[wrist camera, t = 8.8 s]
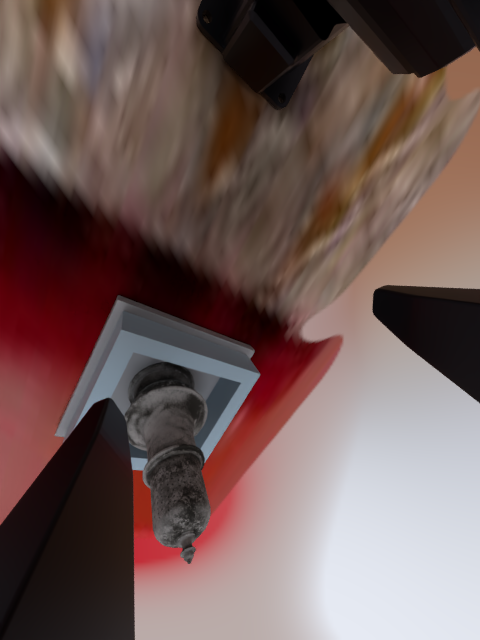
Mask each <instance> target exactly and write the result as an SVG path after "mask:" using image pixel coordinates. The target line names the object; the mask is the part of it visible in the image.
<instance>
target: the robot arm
mask: <svg viewBox="0 0 480 640" xmlns="http://www.w3.org/2000/svg"><path fill="white" fill-rule="evenodd" d="M204 14H205V15H207V16H208V17H209V20H210V23H208V24H207V23H206V22H205V21H204V20H203V16H202V15H204ZM196 22H197V25H198V27H199V29H200V30H201V32H202V33H203V34H204V35H205V36H206V37H207V38H208V39H209V40H210V41H211V42H212V43H213V44H214V45H215V46H216V47H217V48H218V49H219V50H220V51H221V52H222V53H223V56H224V60H225V61H226V62H227V63H228V64H229V65H230V66H231V67H232V68H233V69H234V70H235V71H236V73H237V74H238V75H239V76H240V77H241V78H242V79H243V80H244V81H245V82H246V83H247V84H248V85H249V86H250V87H251V88H252V89H253V90H254V91H255V92H256V93H261V94H262V95H263V96H264V97H265V98H266V99H267V100H268V101H269V102H270V103H271V104H272V105H273V106H274V107H275V108H276V109H277V110H281V109H283V108H284V107H286V106H287V104H288V103H289V101H290V99H291V97H292V95H293V93H294V91H295V89H296V87H297V85H298V83H299V81H300V80H301V78H302V76H303V74H304V72H305V70H306V68H307V66H308V64H309V62H310V60H311V58H312V57H313V55H314V53H316V52H317V51H318V50H319V49H321V48H322V47H323V46H324V45H326V44H327V43H328V42H329V41H331V40H332V39H333V38H335V37H336V36H337V35H338V34H340V33H341V32H342V31H343V30H345V29H346V28H347V27H348V26H350V27H351V28H352V29H353V30H354V31H355V32H356V34H357V35H358V36H359V37H360V38H361V39H362V40H363V41H364V43H365V44H366V45H367V46H368V47H369V48H370V49H371V50H372V51H373V53H374V54H375V55H376V57H377V58H378V59H379V60H380V61H381V62H382V63H383V64H384V65H385V66H386V67H387V68H388V69H389V70H390V71H391V72H392V73H393V74H411V73H415V75H416V76H417V77H418V78H420V77H423V76H426V75H428V74H430V73H432V72H435V71H437V70H439V69H441V68H443V67H445V66H447V65H449V64H450V63H452V62H454V61H455V60H457V59H458V58H460V57H462V56H463V55H465V54H466V53H468V52H469V51H471V50H472V49H473V48H475V47H476V46H477V48H478V50H479V51H480V0H202V1H201V4H200V6H199V9H198V12H197V15H196ZM279 95H280V96H281V97H282V100H283V101H282V103H280V101H279V98H278V97H279ZM373 313H374V315H375V316H376V318H377V319H378V320H380V322H382V323H383V324H384V325H385V326H386V327H387V328H388V329H389V330H390V331H391V332H392V333H393V334H394V335H395V336H396V337H398V338H399V339H400V340H401V341H402V342H403V343H404V344H405V345H406V346H407V347H409V348H410V349H411V350H412V351H414V352H415V353H416V354H417V355H419V356H420V357H422V358H423V359H424V360H425V361H426V362H428V363H429V364H430V365H432V366H433V367H434V368H435V369H437V370H438V371H439V372H441V373H442V374H443V375H444V376H446V377H447V378H448V379H450V380H451V381H452V382H454V383H455V384H456V385H457V386H459V387H460V388H461V389H462V390H464V391H465V392H466V393H468V394H469V395H470V396H471V397H473V398H474V399H475V400H477V401H478V402H479V403H480V289H463V288H439V287H416V286H394V285H393V286H392V285H386V286H383V287H380V288H378V289H376V290H375V291H374V294H373ZM134 622H135V621H134V516H133V471H132V462H131V455H130V447H129V439H128V432H127V424H126V420H125V417H124V415H123V414H122V412H121V411H120V409H119V408H118V407H117V405H116V404H115V402H114V401H113V399H111V398H109V397H108V398H105V399H102V400H100V401H97V402H95V403H94V404H93V405H92V406H91V408H90V409H89V410H88V411H87V413H86V414H85V415H84V417H83V418H82V419H81V421H80V422H79V423H78V425H77V426H76V427H75V428H74V430H73V431H72V432H71V434H70V435H69V436H68V438H67V439H66V440H65V441H64V443H63V444H62V445H61V447H60V448H59V449H58V451H57V452H56V453H55V455H54V456H53V457H52V458H51V460H50V461H49V462H48V464H47V465H46V466H45V468H44V469H43V470H42V472H41V473H40V474H39V475H38V477H37V478H36V479H35V481H34V482H33V483H32V485H31V486H30V487H29V489H28V490H27V491H26V492H25V494H24V495H23V496H22V498H21V499H20V500H19V502H18V503H17V504H16V506H15V507H14V508H13V509H12V511H11V512H10V513H9V515H8V516H7V517H6V519H5V520H4V521H3V522H2V524H1V525H0V640H135V631H134V630H135V628H134V626H135V625H134Z"/></svg>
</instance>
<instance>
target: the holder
mask: <svg viewBox="0 0 480 640" xmlns="http://www.w3.org/2000/svg"><path fill="white" fill-rule="evenodd" d="M254 352H255V351H254V349H253V348H252V347H251V346H250V345H247V344H245V343H242V342H239V341H237V340H234V339H232V338H229V337H226V336H224V335H221V334H219V333H216V332H213V331H211V330H208V329H206V328H203V327H200V326H198V325H195V324H193V323H190V322H187V321H185V320H182V319H180V318H177V317H174V316H172V315H169V314H167V313H164V312H161V311H159V310H156V309H154V308H151V307H148V306H146V305H143V304H141V303H138V302H135V301H133V300H130V299H128V298H125V297H122V296H120V295H118V296H117V299H116V301H115V303H114V305H113V307H112V309H111V312H110V314H109V316H108V318H107V320H106V322H105V325H104V327H103V329H102V331H101V333H100V335H99V338H98V340H97V342H96V344H95V346H94V348H93V351H92V353H91V355H90V357H89V359H88V362H87V364H86V366H85V368H84V370H83V372H82V375H81V377H80V379H79V381H78V383H77V385H76V388H75V390H74V392H73V394H72V396H71V398H70V401H69V403H68V405H67V407H66V409H65V411H64V414H63V416H62V418H61V420H60V422H59V424H58V427H57V430H56V433H55V436H59V437H64V441H65V440H66V439H67V438H68V436H69V435H70V434H71V432H72V431H73V430H74V428H75V427H76V426H77V425H78V423H79V422H80V421H81V419H82V418H83V417H84V415H85V414H86V413H87V411H88V410H89V409H90V408H91V406H92V405H93V404H94V403H95V402H97V401H100V400H102V399H105V398H108V397H109V398H111V399H113V401H114V402H115V404H116V405H117V407H118V408H119V409H120V411H121V412H122V414H123V415H124V416H125V413H126V411H127V410H128V409H129V407H130V405H131V403H130V401H129V398H128V388H129V385H130V382H131V381H132V379H133V378H134V376H135V375H136V374H137V373H138V372H140V371H141V370H142V369H144V368H146V367H148V366H149V365H152V364H156V363H160V362H170V363H173V364H177V365H180V366H184V367H185V368H187V369H188V370H189V371H190V373H191V374H192V376H193V379H194V383H195V385H194V390H195V391H196V392H198V393H199V394H200V395H202V397H203V398H204V400H205V401H206V404H207V409H208V413H207V419H206V422H205V424H204V426H203V427H202V429H201V430H200V431H199V433H198V434H197V435H196V436H195V437H194V439H195V443H196V447H198V448H200V449H201V450H202V452H203V453H204V457H205V462H206V460H207V459H208V457H209V455H210V454H211V452H212V451H213V449H214V447H215V446H216V444H217V443H218V441H219V440H220V438H221V436H222V435H223V433H224V432H225V430H226V428H227V427H228V425H229V424H230V422H231V420H232V419H233V417H234V416H235V414H236V413H237V411H238V409H239V408H240V406H241V405H242V403H243V401H244V400H245V398H246V397H247V395H248V393H249V392H250V390H251V389H252V387H253V386H254V384H255V382H256V381H257V379H258V378H259V376H260V373H259V371H258V370H257V369H256V367H255V366H254V364H253V363H252V362H251V360H250V359H251V357H252V355H253V354H254ZM64 441H63V443H64ZM129 447H130V455H131V462H132V470H144V467H145V465H146V464H147V462H148V461H147V451H145V450H141V449H138V448H136V447H134V446H132V445H131V444H130V443H129ZM205 462H204V463H205Z"/></svg>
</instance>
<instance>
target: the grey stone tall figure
mask: <svg viewBox="0 0 480 640" xmlns="http://www.w3.org/2000/svg"><path fill="white" fill-rule="evenodd" d="M194 385H195V383H194V379H193V376H192V374H191V373H190V371H189V370H188V369H187V368H185V367H184V366H180V365H177V364H173V363H170V362H160V363H156V364H152V365H149V366H148V367H146V368H144V369H142V370H141V371H140V372H138V373H137V374H136V375H135V376H134V378H133V379H132V381H131V382H130V385H129V388H128V398H129V401H130V403H131V405H130V407H129V409H128V410H127V411H126V413H125V416H124V417H125V420H126V424H127V432H128V439H129V443H130V444H131V445H132V446H134V447H136V448H138V449H141V450H145V451H147V461H148V462H147V464H146V465H145V467H144V470H143V481H144V483H145V485H146V486H148V487H149V488H151V503H152V519H153V531H154V534H155V537H156V539H157V540H158V541H159V542H160V543H161V544H163V545H164V546H167V547H172V548H178V547H179V548H183V551H182V552H181V554H180V556H181V557H182V558H184V560H185V561H187V562H188V564H190V563H191V561H192V558H193V556H194V552H195V550H196V549H195V547H193V546H192V543H193V542H194V541H195V540H196V539H197V538H198V537H199V536H200V535H201V533H202V532H203V531H204V530H205V528H206V526H207V524H208V522H209V519H210V514H211V512H210V504H209V500H208V496H207V492H206V488H205V484H204V480H203V476H202V472H201V470H202V468H203V466H204V462H205V457H204V453H203V452H202V450H201V449H200V448H198V447H196V443H195V439H194V437H195V436H196V435H197V434H198V433H199V431H200V430H201V429H202V427H203V426H204V424H205V422H206V419H207V413H208V409H207V404H206V401H205V400H204V398H203V397H202V395H200V394H199V393H198V392H196V391H195V390H194Z"/></svg>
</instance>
